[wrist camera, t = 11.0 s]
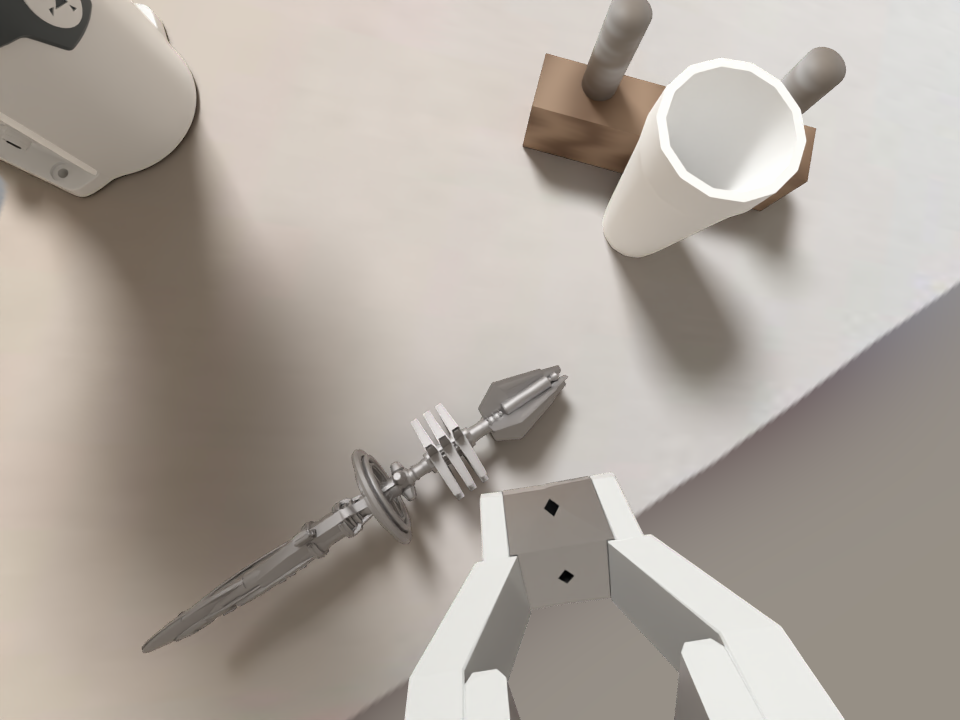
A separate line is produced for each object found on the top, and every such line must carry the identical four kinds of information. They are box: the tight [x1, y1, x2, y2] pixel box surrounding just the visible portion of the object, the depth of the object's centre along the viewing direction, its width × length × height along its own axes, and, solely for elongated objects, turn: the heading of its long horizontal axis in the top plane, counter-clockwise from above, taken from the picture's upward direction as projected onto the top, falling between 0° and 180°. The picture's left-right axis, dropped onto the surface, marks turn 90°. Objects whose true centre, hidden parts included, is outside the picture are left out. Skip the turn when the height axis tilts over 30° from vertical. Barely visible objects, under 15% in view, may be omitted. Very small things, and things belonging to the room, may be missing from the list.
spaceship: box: [142, 365, 568, 653], centre depth 28 cm, size 8×35×8 cm
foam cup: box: [602, 58, 806, 258], centre depth 29 cm, size 10×9×13 cm
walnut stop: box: [523, 0, 846, 211], centre depth 31 cm, size 24×5×11 cm, turn 76°
